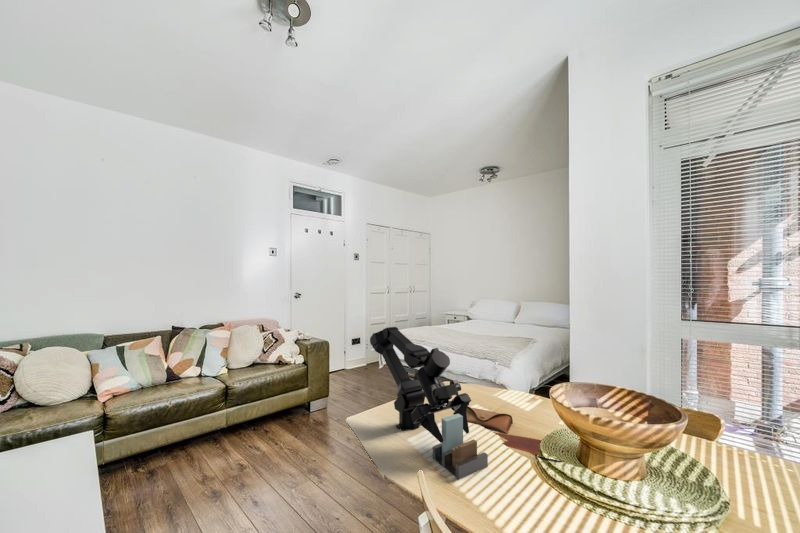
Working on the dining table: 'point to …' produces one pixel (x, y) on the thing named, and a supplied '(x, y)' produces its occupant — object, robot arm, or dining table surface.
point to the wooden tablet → (521, 443)
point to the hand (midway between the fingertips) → (455, 437)
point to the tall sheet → (452, 432)
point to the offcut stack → (464, 452)
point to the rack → (462, 467)
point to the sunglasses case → (489, 419)
